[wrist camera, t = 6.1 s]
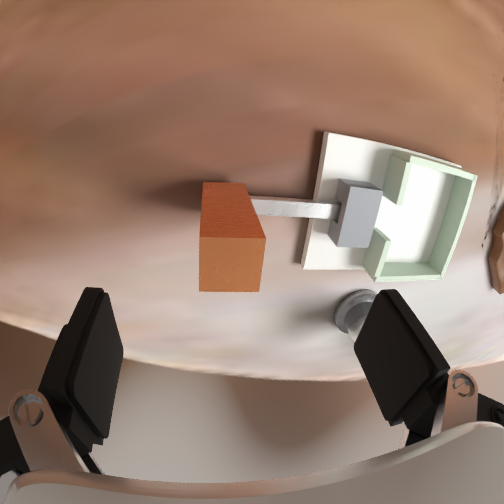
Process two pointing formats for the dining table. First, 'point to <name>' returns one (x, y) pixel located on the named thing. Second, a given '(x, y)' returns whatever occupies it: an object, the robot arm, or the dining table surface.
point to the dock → (387, 210)
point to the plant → (498, 255)
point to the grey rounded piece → (354, 312)
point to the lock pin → (242, 233)
